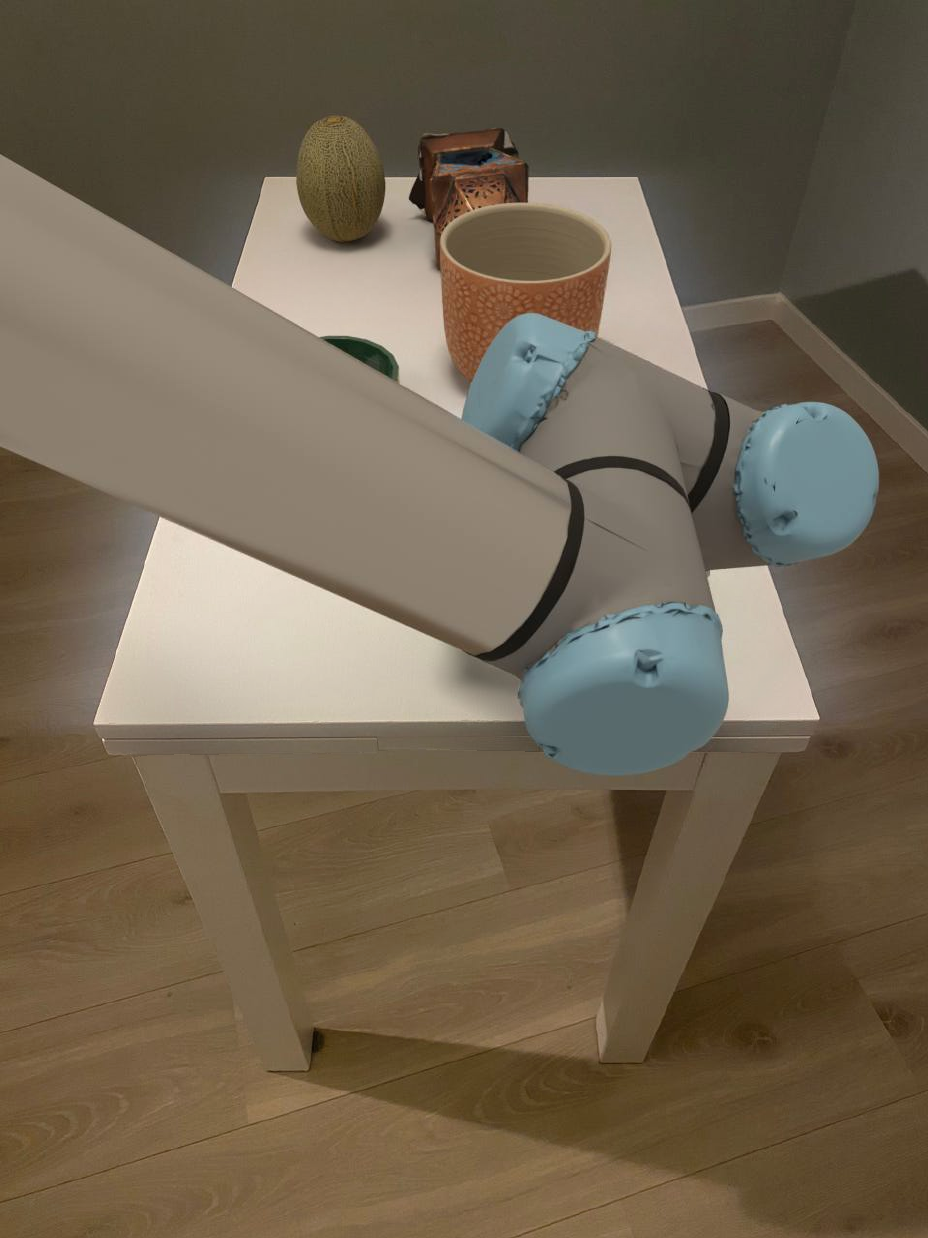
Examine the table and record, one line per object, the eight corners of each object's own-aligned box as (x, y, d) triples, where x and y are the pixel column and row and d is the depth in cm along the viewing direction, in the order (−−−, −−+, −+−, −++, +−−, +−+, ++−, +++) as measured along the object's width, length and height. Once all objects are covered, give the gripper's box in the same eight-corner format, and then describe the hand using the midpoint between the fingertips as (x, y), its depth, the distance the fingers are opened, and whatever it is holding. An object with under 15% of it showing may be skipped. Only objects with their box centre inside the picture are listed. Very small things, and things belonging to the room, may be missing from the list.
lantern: (454, 258, 134) (490, 342, 117) (375, 174, 124) (401, 253, 107) (542, 174, 128) (592, 250, 111) (465, 79, 118) (508, 146, 101)
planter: (578, 327, 110) (591, 197, 99) (610, 412, 99) (629, 277, 88) (435, 336, 109) (431, 205, 97) (450, 423, 97) (449, 287, 86)
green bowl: (310, 465, 93) (305, 428, 89) (247, 399, 100) (239, 362, 97) (425, 417, 98) (424, 380, 95) (357, 357, 106) (353, 321, 102)
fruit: (393, 218, 129) (386, 101, 118) (382, 257, 121) (374, 136, 110) (311, 215, 129) (297, 98, 118) (295, 254, 122) (279, 133, 111)
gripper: (500, 645, 54) (399, 641, 74) (825, 509, 62) (655, 539, 82) (456, 522, 53) (366, 552, 73) (791, 400, 61) (628, 457, 81)
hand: (519, 545), depth 78 cm, fingers open, 13 cm apart
